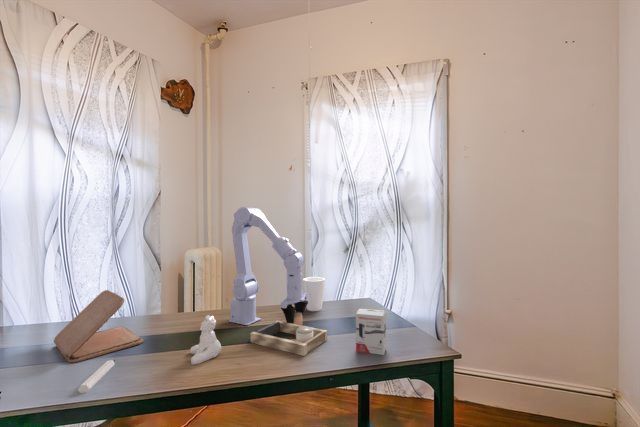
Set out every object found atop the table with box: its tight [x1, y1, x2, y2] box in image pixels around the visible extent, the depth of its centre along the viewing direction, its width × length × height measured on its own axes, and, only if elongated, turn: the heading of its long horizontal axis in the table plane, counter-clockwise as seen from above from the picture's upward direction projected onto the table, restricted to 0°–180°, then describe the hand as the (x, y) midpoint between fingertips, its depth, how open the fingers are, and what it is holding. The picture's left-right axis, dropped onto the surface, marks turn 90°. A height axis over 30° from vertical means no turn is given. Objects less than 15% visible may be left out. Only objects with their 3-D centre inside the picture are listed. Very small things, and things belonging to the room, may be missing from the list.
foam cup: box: [302, 276, 326, 312], centre depth 143 cm, size 10×9×13 cm
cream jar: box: [295, 325, 313, 343], centre depth 105 cm, size 6×6×5 cm
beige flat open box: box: [250, 320, 329, 356], centre depth 108 cm, size 21×14×3 cm
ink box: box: [355, 308, 387, 356], centre depth 100 cm, size 8×5×12 cm, turn 72°
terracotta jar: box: [293, 310, 304, 326], centre depth 122 cm, size 6×6×5 cm
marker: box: [77, 359, 116, 394], centre depth 86 cm, size 3×2×16 cm
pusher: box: [256, 320, 281, 336], centre depth 113 cm, size 4×10×4 cm, turn 150°
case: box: [53, 289, 144, 364], centre depth 107 cm, size 20×21×16 cm
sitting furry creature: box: [189, 314, 222, 366], centre depth 98 cm, size 10×9×12 cm
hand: (295, 322), depth 122 cm, fingers closed on terracotta jar, 5 cm apart
